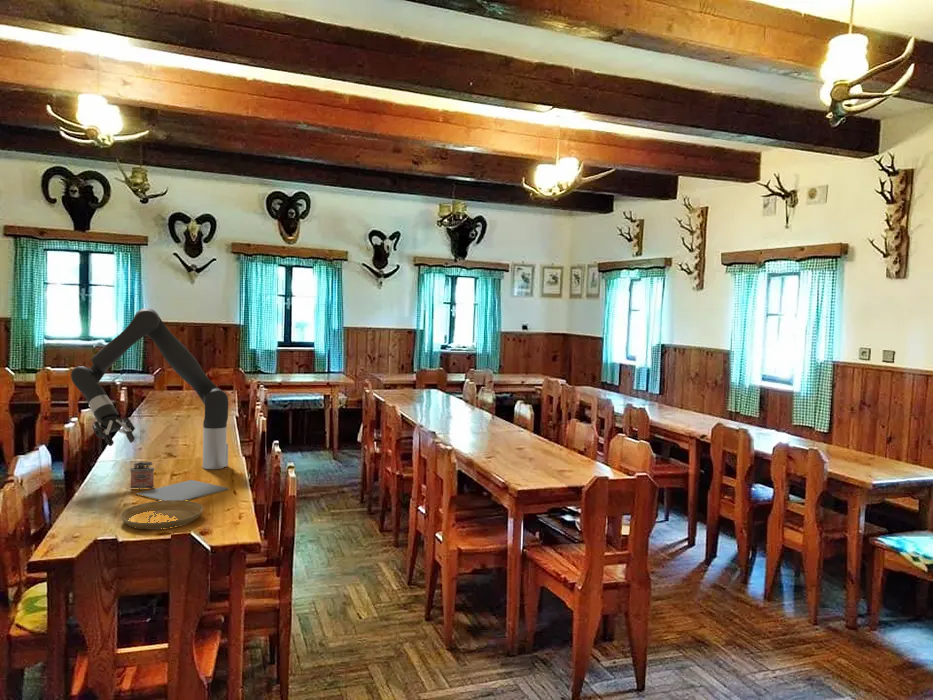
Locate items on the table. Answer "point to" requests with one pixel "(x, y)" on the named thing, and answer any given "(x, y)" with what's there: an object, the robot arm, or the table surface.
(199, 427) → the table surface
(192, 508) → the plant saucer
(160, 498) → the mat
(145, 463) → the lighter
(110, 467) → the table surface
